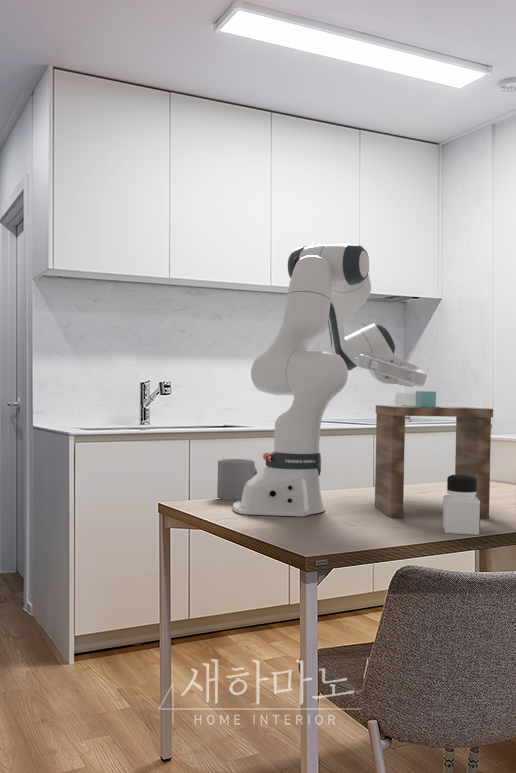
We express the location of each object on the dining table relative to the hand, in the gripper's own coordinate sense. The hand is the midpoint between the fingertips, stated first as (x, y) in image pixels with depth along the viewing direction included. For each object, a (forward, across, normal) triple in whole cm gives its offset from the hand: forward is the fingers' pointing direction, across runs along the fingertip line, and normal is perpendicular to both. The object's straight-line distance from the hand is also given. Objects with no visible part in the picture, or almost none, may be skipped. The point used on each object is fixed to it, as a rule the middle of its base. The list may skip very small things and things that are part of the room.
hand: (394, 371), depth 193 cm
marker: (+18, +4, +6) cm, 19 cm away
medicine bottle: (+47, +16, +28) cm, 57 cm away
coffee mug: (+8, -31, +45) cm, 55 cm away
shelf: (+25, +15, +30) cm, 42 cm away
